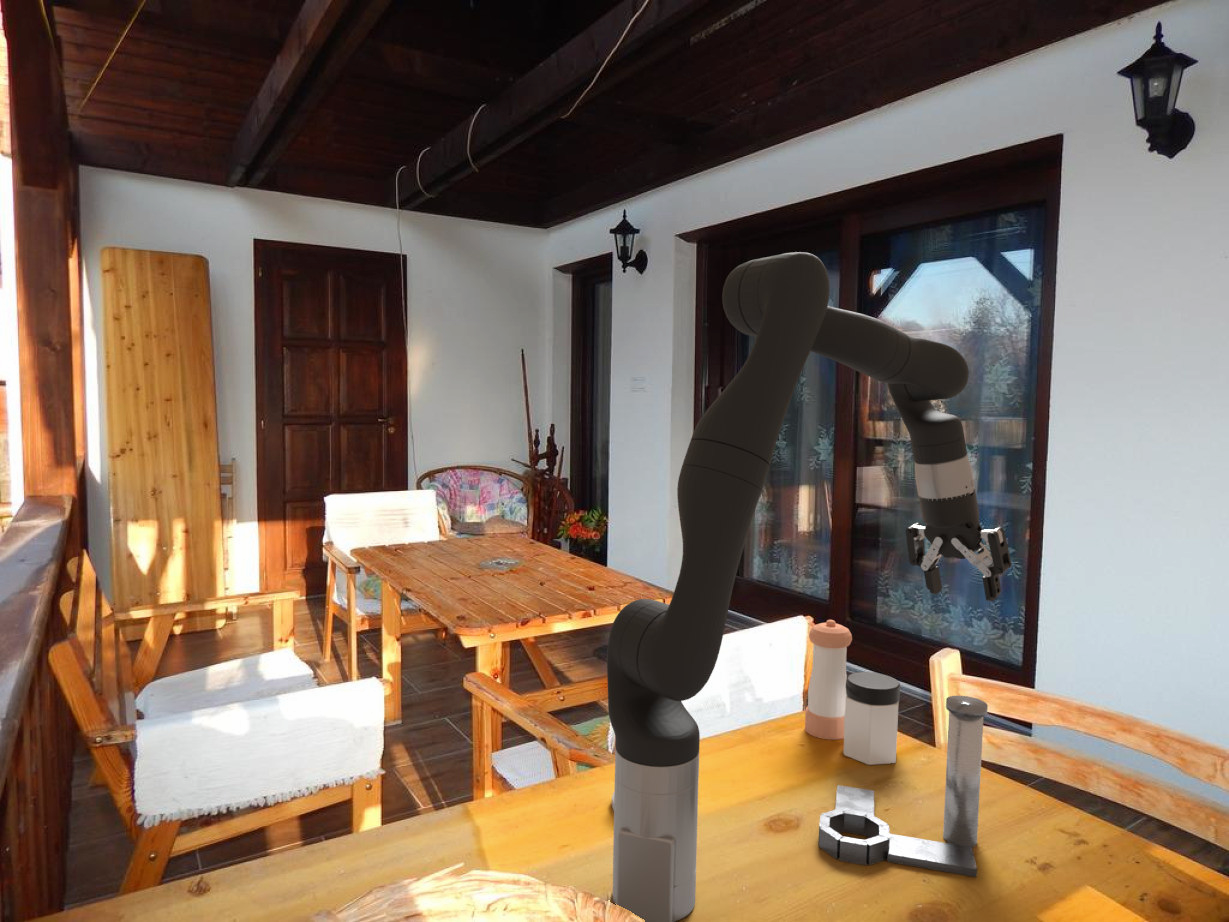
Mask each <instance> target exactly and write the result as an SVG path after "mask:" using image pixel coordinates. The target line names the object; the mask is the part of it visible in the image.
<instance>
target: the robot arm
mask: <svg viewBox="0 0 1229 922" xmlns="http://www.w3.org/2000/svg"><path fill="white" fill-rule="evenodd" d="M721 295H722V296H721V297H722V298H721V299H722V307H723V311H724V313H725V316H726V318H727V319H728V321H729V323H730V324H731V325H732V326H733V327H734V328H735V329H737V331H738V332H741V334H744V335H746V336H751V337H756V338H755V340H754V343H753V346H752V348H751V350H750V353H749V355H748V357H747V359H746V361H745V362H744V364H743V366H742V367H741V368H740V370H739V371H738V372H737V373H736V374H735V376H734V377H733V379H732V380H731V381H730V382H729V383H728V384H727V386H726V387H725V388H724V389H723V391H722V392H721V393H720V394H719V395H718V397H716V398H715V399H714V401H713V402H712V404H711V405H710V406H708V408H707V409H706V411H705V413H703V414H702V417H701V418H700V419H699V421H698V422H697V424H696V426H695V428H694V431H693V434H692V435H691V438H690V441H689V444H688V448H687V450H686V453H685V456H684V459H683V462H682V466H681V469H680V473H679V475H678V480H677V488H676V489H677V490H676V491H677V494H676V495H677V507H678V517H679V523H680V530H681V539H682V557H681V564H680V565H681V566H680V569H679V574H678V577H677V578H678V579H677V581H676V585H675V588H674V592H673V594H672V597H671V600H670V602H669V604H667V603H665V602H662V601H658V600H656V599H649V598H641V599H636V600H634V601H631V602H629V603H628V604H626V605H625V606H624V607H623V608H622V609H621V610H620V611H619V612H618V614H617V615H616V617H615V619H614V621H613V623H612V626H611V627H610V631H609V635H608V641H607V649H606V674H607V675H606V677H607V704H608V705H607V707H608V708H607V709H608V717H609V721H610V724H611V727H612V730H613V732H614V733H613V734H614V735H615V738H614V739H615V741H614V742H615V746H614V747H615V748H614V749H615V750H614V751H615V754H614V755H615V759H614V791H615V793H614V792H613V793H614V811H613V842H612V843H613V846H612V847H613V848H612V849H613V852H612V853H613V854H612V855H613V857H612V900H613V904H614V903H616V904H617V905H619V906H621V907H623V908H625V909H627V910H629V911H631V912H632V913H634V914H635V915H637V916H639V917H640V918H642V919H644V920H645V922H677V921H679V920H682V919H684V918H685V917H686V916H688V915H689V914H691V912H692V911H693V910H694V907H695V904H696V893H697V892H696V888H697V887H696V886H697V885H696V884H697V851H698V850H697V849H698V848H697V847H698V846H697V845H698V811H699V810H698V809H699V808H698V806H699V805H698V804H699V773H700V770H699V769H700V734H701V733H700V730H699V725H698V723H697V721H696V720H695V718H694V717H693V716H692V715H691V714H690V713H689V711H688V710H687V709H686V707H685V705H684V704H683V701H688V700H690V699H691V698H693V697H695V696H696V695H697V694H699V693H700V692H701V691H702V689H703V688H704V687H705V685H706V684H707V683H708V681H709V680H710V678H711V676H712V673H713V672H714V669H715V667H716V664H717V661H718V658H719V655H720V650H721V646H722V641H723V638H724V633H725V628H726V623H727V617H728V614H729V613H728V612H729V609H730V608H729V607H730V603H731V600H732V594H733V588H734V584H735V580H736V577H737V573H738V569H739V565H740V561H741V558H742V554H743V552H744V547H745V544H746V541H747V537H748V533H749V530H750V527H751V523H752V520H753V516H754V515H755V514H754V513H755V511H756V508H757V505H758V503H759V499H760V498H761V494H762V491H763V488H764V485H765V482H766V479H767V475H768V472H769V469H770V466H771V464H772V463H771V462H772V458H773V455H774V452H775V448H776V444H777V440H778V438H779V435H780V431H781V429H782V426H783V423H784V420H785V418H786V414H787V411H788V409H789V405H790V402H791V400H792V397H793V393H794V392H795V389H796V386H797V383H798V381H799V377H800V375H801V374H802V371H803V368H804V366H805V364H806V362H807V359H808V357H809V355H810V353H815V354H817V355H820V356H822V357H825V358H827V359H830V360H833V361H836V362H837V363H840V364H841V365H844V366H846V367H849V368H850V369H852V370H855V371H856V372H858V373H861V374H863V375H865V376H867V377H869V378H871V379H874V380H876V381H877V382H880V383H883V384H884V383H885V384H887V388H888V390H889V391H888V392H889V394H890V396H891V399H892V401H893V402H894V405H895V406H896V409H897V411H898V414H899V416H900V417H901V419H902V421H903V424H904V426H905V428H906V430H907V432H908V434H909V438H910V444H911V449H912V454H913V455H912V456H913V460H914V470H915V471H914V476H915V477H914V478H915V484H916V488H917V489H916V490H917V494H918V495H917V496H918V500H919V505H920V506H919V507H920V513H921V517H922V522H923V523H924V524H925V526H923V525H922V524H921V523H919V522H916V523H915V522H914V523H913V524H912V525H910V526H908V527H906V528H905V537H906V545H907V547H906V548H907V553H908V561H909V564H910V565H911V566H918V567H920V568H921V570H922V571H923V575H924V581H925V585H926V588H927V590H929V593H930V594H932V595H937V594H939V593H940V592H941V591H942V589H943V585H942V584H943V583H942V581H941V580H942V579H941V573H940V568H939V566H936V565H937V564H938V562H939V561H940V558H942V557H943V558H948V559H950V558H956V559H960V560H965V559H966V560H967V561H968V562H969V563H970V564H971V565H972V566H975V567H976V568H977V569H978V570H979V571H980V573H981V574H982V575H983V576H982V577H981V579H982V583H983V589H984V596H985V601H988V602H994V601H995V600H996V599H998V597H999V596H1000V595H1001V594H1002V593H1001V592H1002V589H1001V582H1000V577H999V576H1000V575H1003V574H1004V573H1005V572H1006V571H1008V569H1010V568H1012V565H1013V564H1012V561H1011V555H1010V550H1009V547H1008V542H1007V538H1006V537H1007V536H1006V534H1005V529H1004V528H1003V527H1001V526H998V527H996V528H994V529H983V528H982V526H981V524H980V511H979V505H978V498H977V492H976V487H975V484H976V483H975V479H974V476H973V470H972V465H971V463H970V459H969V456H968V455H969V454H968V450H967V445H966V439H965V438H966V437H965V432H964V431H965V430H964V426H963V423H962V420H961V419H960V418H959V417H958V416H956V415H954V414H951V413H950V414H949V413H946V412H941V411H938V410H937V409H936V408H935V407H934V406H933V404H932V401H937V400H938V401H939V400H947V399H952V398H954V397H956V396H958V395H960V394H961V393H962V392H963V391H964V389H965V387H966V386H967V385H968V381H969V377H970V376H969V375H970V374H969V372H970V371H969V366H968V363H967V361H966V359H965V358H964V356H963V355H962V354H961V352H959V351H958V350H957V349H956V348H954V347H952V346H950V345H947V344H946V343H943V342H939V341H934V340H931V339H927V338H923V337H918V336H912V335H909V334H907V333H905V332H903V331H902V330H900V329H898V328H896V327H894V326H892V325H891V324H889V323H887V322H885V321H883V320H881V319H878V318H876V317H872V316H869V315H867V314H864V313H859V312H856V311H850V310H846V309H842V308H837V307H834V306H829V299H830V277H829V273H828V270H827V268H826V266H825V265H824V263H823V261H822V260H821V259H820V258H819V257H818V256H816V255H814V254H813V253H809V252H804V251H803V252H801V251H799V252H797V251H795V252H785V253H781V254H776V255H771V256H767V257H760V258H756V259H752V260H748V261H747V262H744V263H742V264H739V265H737V266H736V267H735V268H733V270H732V271H730V273H729V274H728V276H727V277H726V279H725V281H724V285H723V287H722V294H721ZM925 538H926V539H927V540H928V543H930V544H931V545H930V547H929V549H928V550H927V552H925V545H924V539H925ZM983 540H984V541H985V544H986V545H987V546H989V549H987V547H985V545H984V544H983V543H982V541H983ZM975 552H976V553H977V554H976V553H975Z"/></svg>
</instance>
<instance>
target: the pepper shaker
mask: <svg viewBox="0 0 1229 922" xmlns="http://www.w3.org/2000/svg"><path fill="white" fill-rule="evenodd" d="M808 633H809V634H808V638H809V639H810V642H811V643H812V644H813V651H812V669H811V673H810V674H811V675H810V678H809V683H808V684H809V685H808V690H807V691H808V693H807V695H808V697H807V698H808V699H807V704H808V705H807V706H806V708H805V713H804V714H805V716H804V719H805V720H804V730H805V732H806V733H807V734H808V735H810V736H813V737H815V738H819V739H823V740H832V741H833V740H842V739H843V740H844V714H845V703H846V695H847V694H846V679H847V676H848V675H847V651H848V650H847V649H848V647H849V646H850V645H851V643H852V641H853V635H852V633H851V631H850V629H849V628H848V627H845V626H844V625H842V624H839V623H836V621H835V620H833V619H827V620H826V622H821V623H817V624H814V625H813V626H812V627H811V628H810V630H809V632H808Z"/></svg>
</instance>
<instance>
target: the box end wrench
mask: <svg viewBox="0 0 1229 922" xmlns="http://www.w3.org/2000/svg"><path fill="white" fill-rule="evenodd" d="M835 798H836V799H835V809H832V810H829V811H826V812H822V813H821V814H820V816H819V824H818V843H817V845H818V847H819V848H820V849H821V850H822V851H824V852H825V853H827V854H828V855H830V856H831V857H833V858H834V859H835V860H839V861H840V862H844V863H845V862H846V863H850V864H856V865H861V866H862V865H863V866H871V865H874V864H877V863H880V862H883V861H887V863H893V864H897V865H898V864H900V865H905V866H910V867H911V866H912V867H914V868H915V867H916V868H922V869H928V870H933V871H938V872H945V873H950V874H956V875H962V876H967V877H974V878H977V877H978V876H977V875H978V867H977V864H976V863H977V862H976V859H975V858H976V857H975V854H974V850H973V847H967V846H961V845H955V844H950V843H948V842H942V841H936V840H930V839H926V838H925V839H924V838H917V837H912V836H906V835H900V834H893V833H890V825H889V824H888V823H887V822H885V821H883V820H882V819H881V818H879V817H877V816H875V791H874V790H872V789H867V788H866V789H865V788H859V787H852V786H845V785H840V784H837V787H836V797H835ZM843 832H844V833H851V834H856V835H862V836H865V837H866V838H867V839H860V838H855V837H849V836H843V835H842V834H841V833H843Z"/></svg>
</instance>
